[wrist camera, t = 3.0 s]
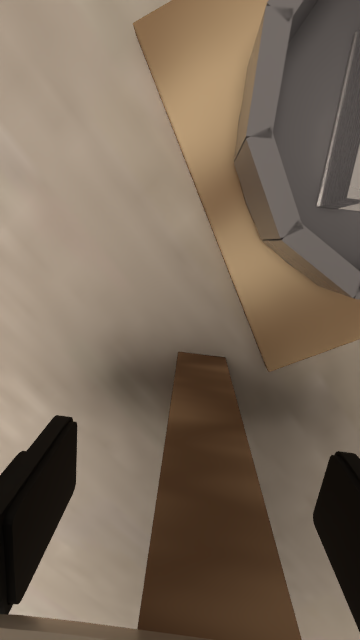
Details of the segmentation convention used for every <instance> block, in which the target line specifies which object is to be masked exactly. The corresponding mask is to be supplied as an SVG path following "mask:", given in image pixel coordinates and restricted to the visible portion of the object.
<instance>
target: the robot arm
mask: <svg viewBox="0 0 360 640" xmlns="http://www.w3.org/2000/svg"><path fill="white" fill-rule="evenodd" d="M76 456H77V422H73V419H72V417H66V416H58V415H56V416H55V417H54V418H53V419H52V420H51V421H50V423H49V424H48V425H47V426H46V428H45V429H44V430H43V431H42V433H41V434H40V435H39V436H38V438H37V439H36V440H35V441H34V443H33V444H32V445H31V446H30V448H29V449H28V450H27V451H22V452H20V453H19V454H18V455H17V456H16V457H15V458H14V459H13V460H12V462H11V463H10V464H9V465H8V467H7V468H6V469H5V470H4V471H3V473H2V474H1V475H0V640H212V639H204V638H197V637H190V636H183V635H176V634H168V633H161V632H153V631H146V630H138V629H130V628H123V627H115V626H108V625H100V624H93V623H85V622H77V621H68V620H59V619H50V618H41V617H32V616H23V615H8V614H9V612H10V610H11V608H12V606H13V604H19V603H20V601H21V600H22V598H23V596H24V594H25V592H26V590H27V588H28V586H29V584H30V582H31V580H32V577H33V575H34V573H35V571H36V569H37V567H38V565H39V563H40V561H41V559H42V557H43V555H44V552H45V550H46V548H47V546H48V544H49V542H50V540H51V538H52V536H53V534H54V532H55V530H56V528H57V525H58V523H59V521H60V519H61V517H62V515H63V513H64V511H65V509H66V507H67V505H68V503H69V501H70V498H71V496H72V494H73V492H74V489H75V485H76ZM313 521H314V525H315V528H316V530H317V532H318V535H319V537H320V539H321V542H322V544H323V546H324V549H325V551H326V554H327V556H328V558H329V561H330V563H331V565H332V568H333V570H334V572H335V575H336V577H337V580H338V582H339V584H340V587H341V589H342V591H343V594H344V596H345V598H346V601H347V603H348V606H349V608H350V610H351V613H352V615H353V617H354V620H355V622H356V624H357V627H358V629H359V632H360V459H359V457H358V456H357V455H356V454H354V453H347V452H339V451H338V452H336V453H335V455H331V456H330V459H329V462H328V466H327V469H326V472H325V476H324V479H323V482H322V486H321V489H320V492H319V496H318V499H317V502H316V506H315V509H314V513H313Z"/></svg>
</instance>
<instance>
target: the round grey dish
mask: <svg viewBox="0 0 360 640" xmlns="http://www.w3.org/2000/svg"><path fill="white" fill-rule="evenodd" d="M359 29H360V0H268V2H267V4H266V7H265V10H264V14H263V17H262V20H261V24H260V27H259V30H258V33H257V37H256V40H255V43H254V47H253V50H252V53H251V57H250V60H249V63H248V66H247V73H246V80H245V86H244V93H243V100H242V106H241V111H240V115H239V120H238V131H237V141H236V148H235V155H234V166H235V169H236V172H237V174H238V177H239V181H240V186H241V190H242V193H243V197H244V200H245V204H246V206H247V209H248V211H249V213H250V215H251V218H252V220H253V222H254V224H255V225H256V228H257V230H258V233H259V236H260V239H261V240H262V242H264V243H265V244H266V245H267V246H269V247H270V248H271V249H272V250H273V251H274V252H275V253H277V254H278V255H279V256H280V257H281V258H282V259H283V260H284V261H285V262H286V263H288V264H289V265H290V266H292V267H293V268H295V269H296V270H298V271H299V272H301V273H302V274H304V275H305V276H306V277H307V278H309V279H310V280H311V281H312V282H314V283H315V284H316V285H317V286H319V287H322V288H325V289H328V290H331V291H334V292H337V293H339V294H342V295H345V296H348V297H351V298H354V299H360V212H357V211H349V210H340V209H331V208H322V207H316V203H317V198H318V193H319V189H320V184H321V180H322V175H323V171H324V166H325V162H326V157H327V152H328V148H329V143H330V139H331V134H332V130H333V125H334V121H335V116H336V112H337V107H338V102H339V98H340V93H341V89H342V84H343V80H344V75H345V71H346V66H347V61H348V57H349V52H350V48H351V43H352V39H353V34H354V33H355V32H357V31H358V30H359Z"/></svg>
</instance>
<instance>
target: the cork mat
mask: <svg viewBox="0 0 360 640" xmlns="http://www.w3.org/2000/svg"><path fill="white" fill-rule="evenodd" d="M267 2H268V0H172V1H170V2H168V3H167V4H165V5H163V6H161V7H160V8H158V9H156V10H155V11H153V12H151V13H149V14H148V15H146V16H144V17H143V18H141V19H139V20H137V21H136V22H134V23H133V26H134V29H135V33H136V36H137V38H138V41H139V43H140V46H141V48H142V51H143V54H144V56H145V59H146V61H147V64H148V66H149V69H150V71H151V74H152V77H153V79H154V82H155V84H156V87H157V89H158V92H159V94H160V97H161V100H162V102H163V105H164V107H165V110H166V112H167V115H168V117H169V120H170V123H171V125H172V128H173V130H174V133H175V135H176V138H177V141H178V143H179V146H180V148H181V151H182V153H183V156H184V158H185V161H186V164H187V166H188V169H189V171H190V174H191V176H192V179H193V181H194V184H195V187H196V189H197V192H198V194H199V197H200V199H201V202H202V204H203V207H204V210H205V212H206V215H207V217H208V220H209V222H210V225H211V227H212V230H213V233H214V235H215V238H216V240H217V243H218V245H219V248H220V250H221V253H222V256H223V258H224V261H225V263H226V266H227V268H228V271H229V273H230V276H231V279H232V281H233V284H234V286H235V289H236V291H237V294H238V297H239V299H240V302H241V304H242V307H243V309H244V312H245V314H246V317H247V320H248V322H249V325H250V327H251V330H252V332H253V335H254V337H255V340H256V343H257V345H258V348H259V350H260V353H261V355H262V358H263V360H264V363H265V366H266V368H267V370H268V371H269V372H271V371H273V370H276V369H279V368H282V367H284V366H287V365H290V364H293V363H295V362H298V361H301V360H304V359H306V358H309V357H312V356H315V355H317V354H320V353H323V352H325V351H328V350H331V349H334V348H336V347H339V346H342V345H345V344H347V343H350V342H353V341H356V340H358V339H360V299H354V298H351V297H348V296H345V295H342V294H339V293H337V292H334V291H331V290H328V289H325V288H322V287H319V286H317V285H316V284H315V283H314V282H312V281H311V280H310V279H309V278H307V277H306V276H305V275H304V274H302V273H301V272H299V271H298V270H296V269H295V268H293V267H292V266H290V265H289V264H288V263H286V262H285V261H284V260H283V259H282V258H281V257H280V256H279V255H278V254H277V253H275V252H274V251H273V250H272V249H271V248H270V247H269V246H267V245H266V244H265V243H264V242H262V240H261V239H260V236H259V233H258V230H257V228H256V225H255V224H254V222H253V220H252V218H251V215H250V213H249V211H248V209H247V206H246V204H245V200H244V197H243V193H242V190H241V186H240V181H239V177H238V174H237V172H236V169H235V166H234V155H235V148H236V141H237V131H238V120H239V115H240V111H241V106H242V100H243V93H244V86H245V80H246V73H247V66H248V63H249V60H250V57H251V53H252V50H253V47H254V43H255V40H256V37H257V33H258V30H259V27H260V24H261V20H262V17H263V14H264V10H265V7H266V4H267Z"/></svg>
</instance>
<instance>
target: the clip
mask: <svg viewBox="0 0 360 640" xmlns="http://www.w3.org/2000/svg"><path fill="white" fill-rule="evenodd" d="M316 207H322V208H331V209H340V210H349V211H357V212H360V29H359V30H358V31H357V32H355V33H354V34H353V39H352V43H351V48H350V52H349V57H348V61H347V66H346V71H345V75H344V80H343V84H342V89H341V93H340V98H339V102H338V107H337V112H336V116H335V121H334V125H333V130H332V134H331V139H330V143H329V148H328V152H327V157H326V162H325V166H324V171H323V175H322V180H321V184H320V189H319V193H318V198H317V203H316Z"/></svg>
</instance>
